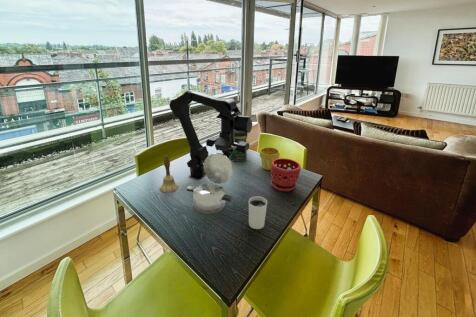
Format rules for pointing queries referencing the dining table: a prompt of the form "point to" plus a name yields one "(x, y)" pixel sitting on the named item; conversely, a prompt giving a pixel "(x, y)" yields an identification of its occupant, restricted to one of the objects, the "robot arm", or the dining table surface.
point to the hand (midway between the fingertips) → (227, 161)
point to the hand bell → (168, 179)
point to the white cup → (257, 212)
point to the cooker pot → (209, 198)
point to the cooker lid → (218, 168)
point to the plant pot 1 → (268, 156)
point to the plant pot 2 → (284, 174)
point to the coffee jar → (238, 138)
